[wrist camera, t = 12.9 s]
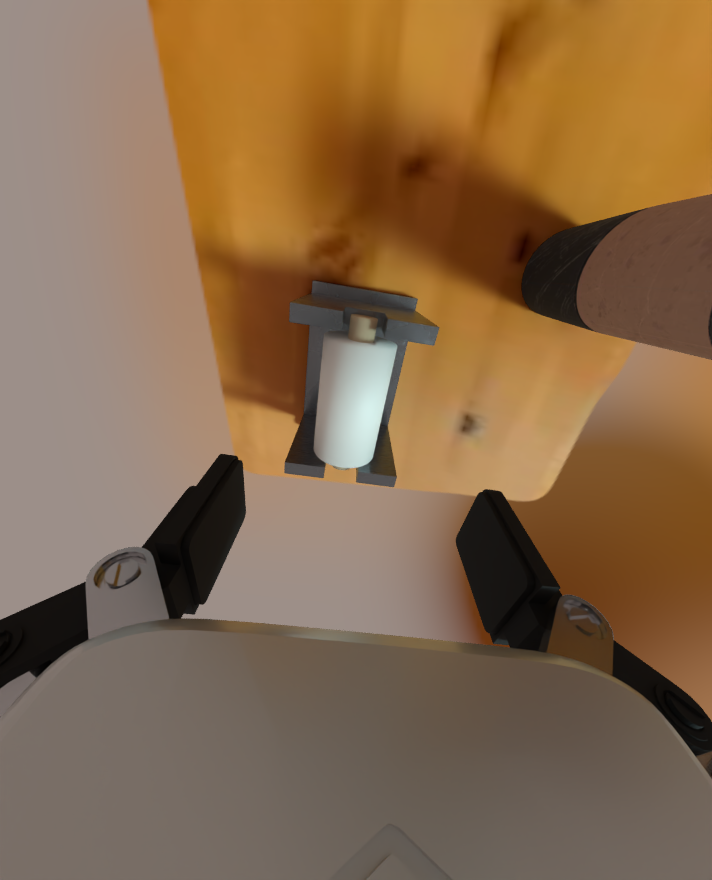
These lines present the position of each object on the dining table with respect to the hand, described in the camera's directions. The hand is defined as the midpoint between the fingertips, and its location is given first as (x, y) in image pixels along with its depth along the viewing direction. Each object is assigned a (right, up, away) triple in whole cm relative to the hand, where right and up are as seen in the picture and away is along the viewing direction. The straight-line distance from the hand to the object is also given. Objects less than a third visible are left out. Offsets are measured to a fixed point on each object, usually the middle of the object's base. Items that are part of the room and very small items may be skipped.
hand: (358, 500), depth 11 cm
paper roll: (0, +7, +15) cm, 17 cm away
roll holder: (0, +10, +20) cm, 23 cm away
